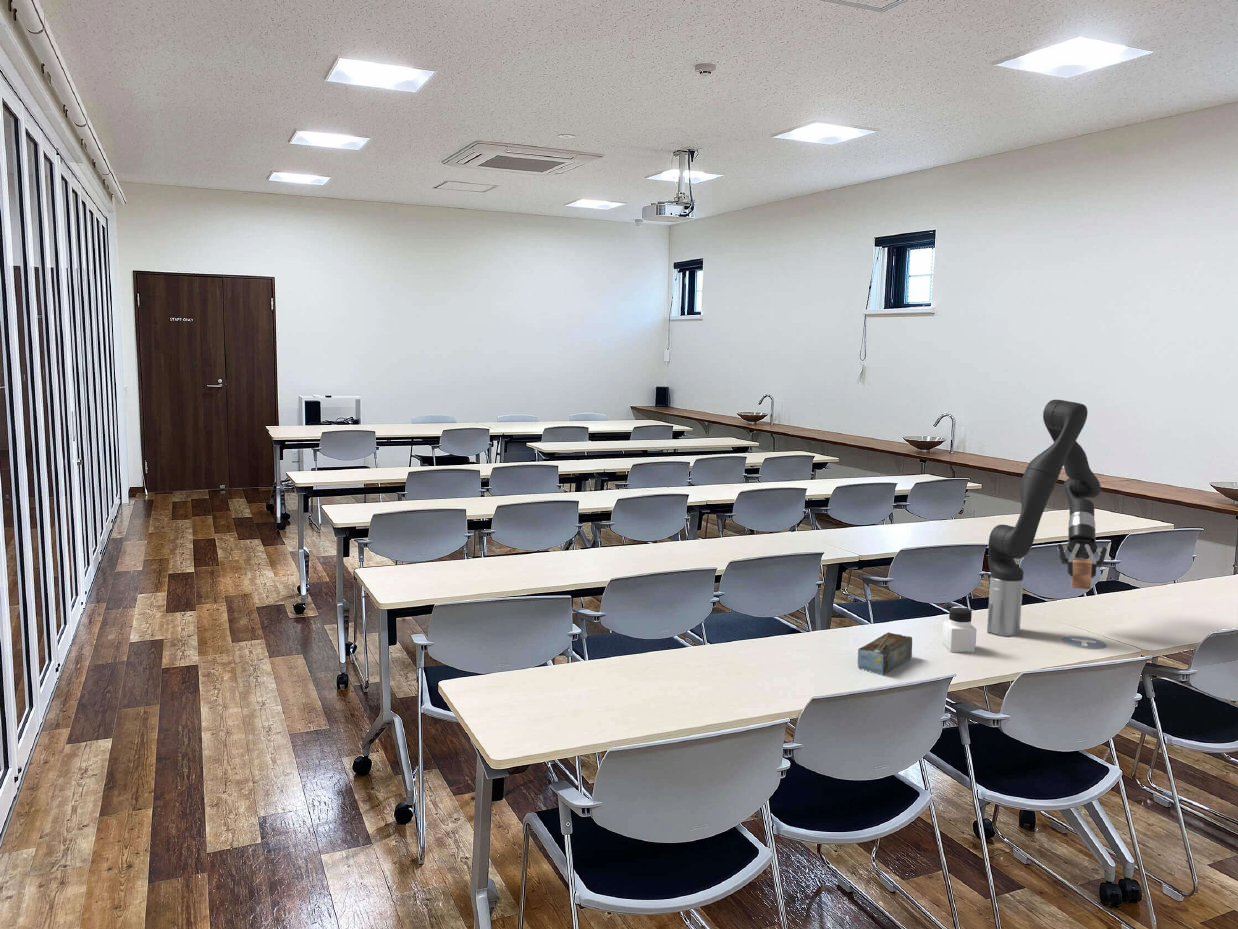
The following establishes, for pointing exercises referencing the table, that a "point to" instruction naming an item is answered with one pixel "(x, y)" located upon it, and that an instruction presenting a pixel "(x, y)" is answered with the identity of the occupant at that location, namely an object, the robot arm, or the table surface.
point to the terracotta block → (1081, 574)
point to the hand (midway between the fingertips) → (1081, 575)
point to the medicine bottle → (959, 631)
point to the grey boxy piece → (885, 653)
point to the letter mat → (1084, 642)
